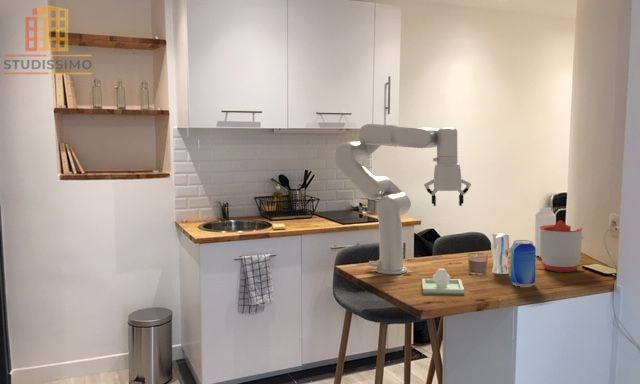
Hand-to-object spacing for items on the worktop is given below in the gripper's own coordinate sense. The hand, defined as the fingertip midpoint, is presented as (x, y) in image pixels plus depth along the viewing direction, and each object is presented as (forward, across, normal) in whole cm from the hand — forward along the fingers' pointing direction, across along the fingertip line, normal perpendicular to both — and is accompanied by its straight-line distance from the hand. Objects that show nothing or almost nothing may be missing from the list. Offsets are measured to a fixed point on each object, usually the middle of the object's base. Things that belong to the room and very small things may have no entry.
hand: (447, 205), depth 204 cm
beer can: (+28, +26, -8) cm, 39 cm away
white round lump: (+28, -3, -15) cm, 32 cm away
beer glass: (+28, +21, +10) cm, 37 cm away
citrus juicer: (+28, +46, +17) cm, 57 cm away
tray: (+28, -3, -15) cm, 32 cm away
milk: (+28, +45, +40) cm, 67 cm away
